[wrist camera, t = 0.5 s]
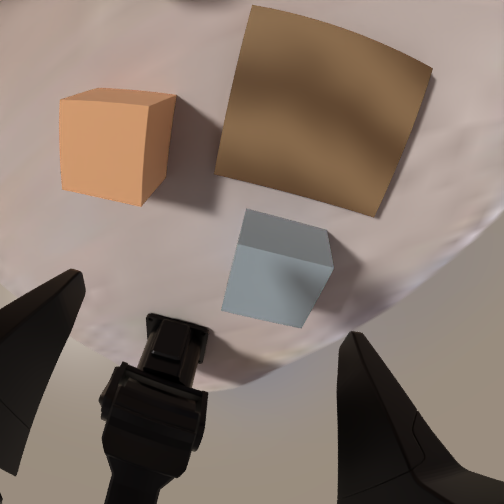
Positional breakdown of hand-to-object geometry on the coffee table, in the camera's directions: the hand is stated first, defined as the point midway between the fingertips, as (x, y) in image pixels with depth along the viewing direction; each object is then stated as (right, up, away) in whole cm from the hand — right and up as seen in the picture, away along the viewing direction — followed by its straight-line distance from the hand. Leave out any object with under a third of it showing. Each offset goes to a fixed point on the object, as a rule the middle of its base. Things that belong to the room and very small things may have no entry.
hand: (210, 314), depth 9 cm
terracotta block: (-7, +10, +9) cm, 15 cm away
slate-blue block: (+3, +2, +14) cm, 15 cm away
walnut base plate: (+6, +10, +7) cm, 14 cm away
